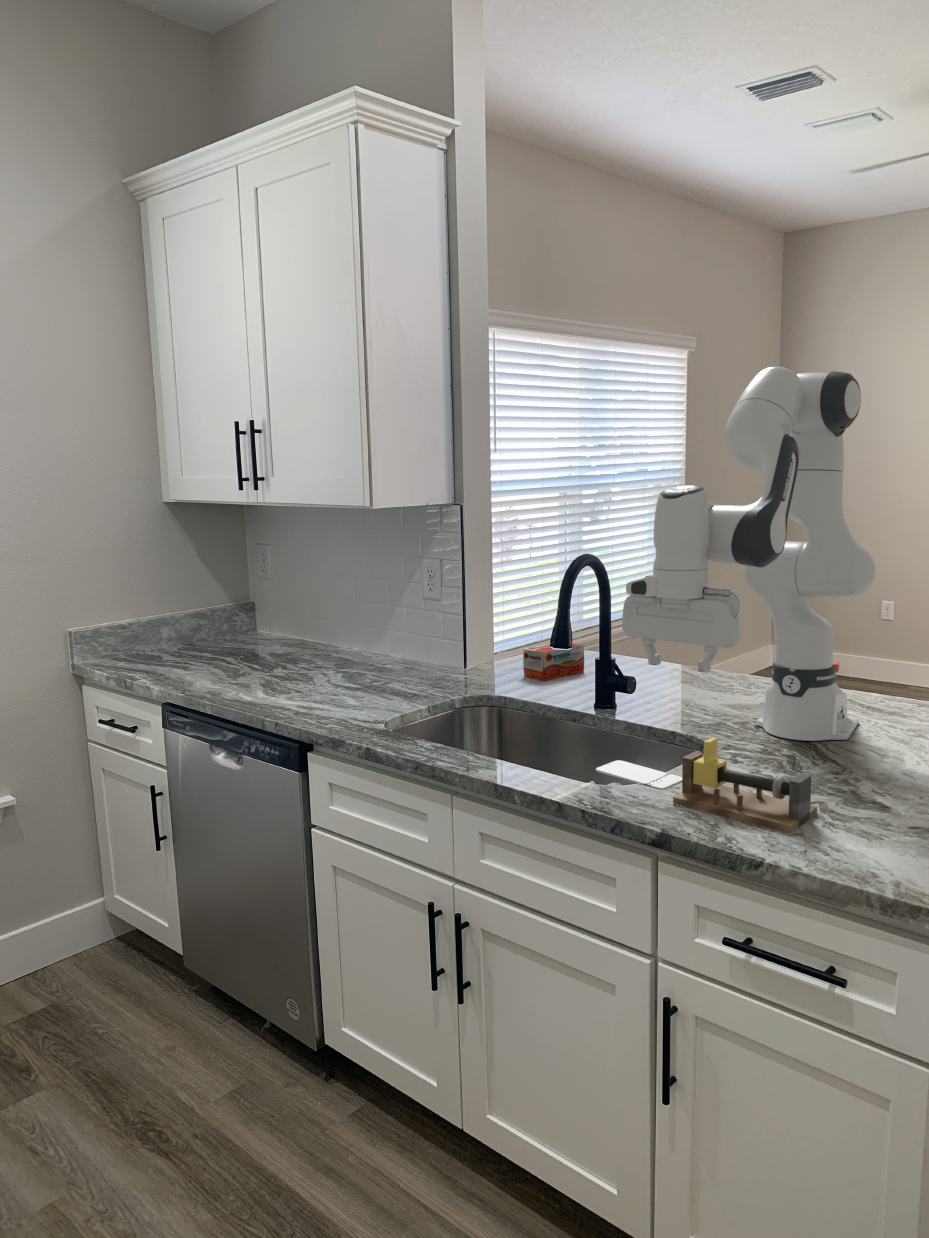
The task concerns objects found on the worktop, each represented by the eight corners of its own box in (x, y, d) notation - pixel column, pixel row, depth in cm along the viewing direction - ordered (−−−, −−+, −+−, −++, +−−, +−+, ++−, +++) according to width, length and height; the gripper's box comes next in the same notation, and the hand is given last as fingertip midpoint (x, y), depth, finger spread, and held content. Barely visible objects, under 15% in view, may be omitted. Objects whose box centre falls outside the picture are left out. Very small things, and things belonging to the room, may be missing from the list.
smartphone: (662, 788, 162) (593, 768, 173) (662, 792, 162) (593, 772, 173) (686, 778, 167) (618, 759, 177) (686, 782, 167) (618, 763, 178)
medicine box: (563, 668, 258) (563, 640, 256) (584, 673, 251) (584, 644, 250) (522, 677, 248) (522, 648, 247) (544, 682, 242) (543, 652, 241)
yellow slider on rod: (672, 803, 155) (673, 762, 154) (702, 787, 162) (702, 747, 161) (790, 833, 142) (792, 787, 141) (816, 813, 149) (818, 770, 148)
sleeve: (693, 783, 156) (694, 740, 154) (704, 777, 158) (705, 735, 157) (715, 788, 153) (716, 744, 152) (726, 782, 156) (727, 739, 154)
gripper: (748, 588, 150) (746, 672, 152) (637, 579, 163) (636, 657, 165) (730, 592, 145) (728, 679, 147) (617, 583, 159) (617, 663, 161)
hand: (678, 668), depth 156 cm, fingers open, 8 cm apart
